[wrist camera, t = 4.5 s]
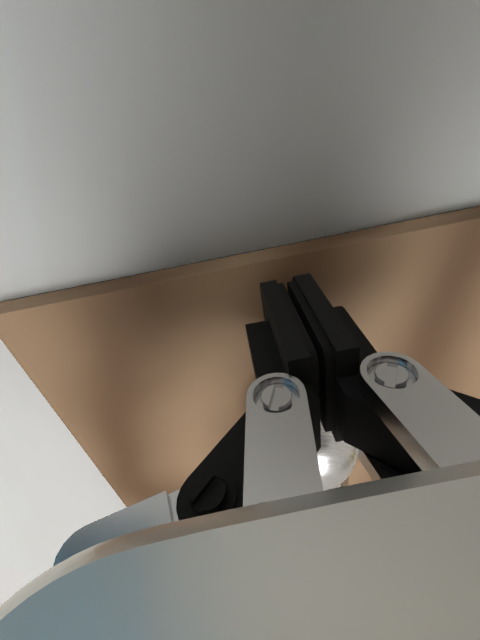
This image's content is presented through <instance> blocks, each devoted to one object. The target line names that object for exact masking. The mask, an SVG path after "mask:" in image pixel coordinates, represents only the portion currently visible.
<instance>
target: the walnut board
mask: <svg viewBox="0 0 480 640" xmlns="http://www.w3.org/2000/svg"><path fill="white" fill-rule="evenodd" d="M308 273H310V274H311V276H312V277H313V278H314V280H315V281H316V283H317V284H318V286H319V287H320V289H321V290H322V292H323V293H324V295H325V296H326V298H327V299H328V300H329V302H330V303H331V305H332V306H333V307H337V306H343V307H344V308H345V309H346V311H347V312H348V313H349V315H350V316H351V318H352V319H353V320H354V322H355V323H356V324H357V326H358V327H359V328H360V330H361V331H362V332H363V334H364V335H365V337H366V338H367V339H368V341H369V342H370V343H371V345H372V346H373V347H374V349H375V350H376V351H377V353H378V352H396V353H400V354H404V355H406V356H408V357H411V358H412V359H414V360H415V361H417V362H418V363H419V364H421V365H422V366H423V367H424V368H425V369H426V370H427V371H429V372H430V373H431V374H432V375H433V376H434V377H435V378H437V379H438V380H439V381H440V382H441V383H442V384H443V385H445V386H446V387H447V388H448V389H450V390H453V391H456V392H460V393H463V394H466V395H469V396H472V397H475V398H478V399H480V206H478V207H473V208H468V209H463V210H458V211H453V212H448V213H443V214H438V215H433V216H428V217H423V218H418V219H413V220H408V221H403V222H398V223H393V224H388V225H383V226H378V227H373V228H368V229H363V230H358V231H353V232H348V233H343V234H338V235H333V236H328V237H323V238H318V239H313V240H308V241H303V242H298V243H293V244H288V245H283V246H278V247H273V248H268V249H263V250H258V251H253V252H248V253H243V254H238V255H233V256H228V257H223V258H218V259H213V260H208V261H203V262H198V263H193V264H188V265H183V266H178V267H173V268H168V269H163V270H158V271H153V272H148V273H143V274H138V275H133V276H128V277H123V278H118V279H113V280H108V281H103V282H99V283H94V284H89V285H84V286H79V287H74V288H69V289H64V290H59V291H54V292H49V293H44V294H39V295H34V296H29V297H24V298H19V299H14V300H9V301H4V302H0V339H1V340H2V341H3V343H4V344H5V345H6V347H7V348H8V349H9V351H10V352H11V353H12V355H13V356H14V357H15V359H16V360H17V361H18V363H19V364H20V365H21V367H22V368H23V369H24V371H25V372H26V373H27V375H28V376H29V377H30V379H31V380H32V381H33V383H34V384H35V385H36V387H37V388H38V389H39V391H40V392H41V393H42V395H43V396H44V397H45V399H46V400H47V401H48V403H49V404H50V405H51V407H52V408H53V409H54V411H55V412H56V413H57V415H58V416H59V417H60V419H61V420H62V421H63V423H64V424H65V425H66V427H67V428H68V429H69V431H70V432H71V433H72V435H73V436H74V437H75V439H76V440H77V441H78V443H79V444H80V445H81V447H82V448H83V449H84V451H85V452H86V453H87V455H88V456H89V457H90V459H91V460H92V461H93V463H94V464H95V465H96V467H97V468H98V469H99V471H100V472H101V473H102V475H103V476H104V477H105V479H106V480H107V481H108V483H109V484H110V485H111V487H112V488H113V489H114V491H115V492H116V493H117V495H118V496H119V497H120V499H121V500H122V501H123V503H124V504H125V505H126V507H129V506H131V505H134V504H136V503H138V502H141V501H143V500H145V499H148V498H150V497H152V496H154V495H157V494H159V493H161V492H164V491H167V493H168V494H170V493H172V492H174V491H177V490H179V489H180V488H181V487H182V485H183V484H184V482H185V481H186V479H187V478H188V477H189V476H190V474H191V473H192V472H193V471H194V470H195V469H196V468H197V466H198V465H199V464H200V463H201V462H202V461H203V460H204V459H205V457H206V456H207V455H208V454H209V453H210V452H211V451H212V449H213V448H214V447H215V446H216V445H217V444H218V443H219V441H220V440H221V439H222V438H223V437H224V436H225V435H226V434H227V432H228V431H229V430H230V429H231V428H232V427H233V426H234V424H235V423H236V422H237V421H238V420H239V419H240V418H241V416H242V415H243V414H244V413H245V412H246V396H247V391H248V388H249V387H250V385H251V384H252V383H253V382H254V381H255V380H256V378H255V373H254V368H253V364H252V359H251V354H250V348H249V343H248V338H247V333H246V327H245V324H250V323H255V322H260V321H265V320H264V313H263V306H262V299H261V292H260V283H262V282H267V281H272V280H276V281H277V283H278V284H279V283H283V284H284V286H285V288H286V290H287V282H289V281H292V278H293V276H297V275H303V274H308ZM287 292H288V290H287ZM369 481H373V480H372V479H371V477H370V476H369V474H368V473H367V471H366V470H365V468H364V466H363V465H362V463H361V462H360V460H359V459H358V457H357V461H356V464H355V466H354V468H353V470H352V472H351V473H350V475H349V476H348V478H347V479H346V480H345V481H344V482H343V483H342V487H344V486H349V485H354V484H359V483H364V482H369Z"/></svg>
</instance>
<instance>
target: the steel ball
mask: <svg viewBox="0 0 480 640" xmlns="http://www.w3.org/2000/svg"><path fill="white" fill-rule="evenodd" d="M320 425H321V448H320V449H319V451H318V452H317V456H318V462H319V468H320V474H321V479H322V485H323V491H324V490H329V489H334V488H336V487H338V486H339V485H340V484H342V483H343V482H344V481H345V480H346V479H347V478H348V476H349V475H350V473H351V472H352V470H353V468H354V466H355V464H356V461H357V454H356V452H355V447H353V446H351V445H349V444H347V443H345V442H344V441H340V442H335V439H334V437H333V434H332V432H331V431H330V432H325V430H324V428H323V426H322V423H321V421H320Z"/></svg>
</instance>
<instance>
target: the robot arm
mask: <svg viewBox="0 0 480 640" xmlns="http://www.w3.org/2000/svg"><path fill="white" fill-rule="evenodd" d="M287 290H288V292H287ZM287 290H286V288H285V286H284V284H283V283H279V284H278V283H277V281H276V280H272V281H267V282H262V283H260V292H261V299H262V306H263V313H264V320H265V321H260V322H255V323H250V324H245V327H246V333H247V338H248V343H249V348H250V354H251V359H252V364H253V368H254V373H255V378H256V380H255V381H254V382H253V383H252V384H251V385H250V387H249V388H248V391H247V396H246V412H245V413H244V414H243V415H242V416H241V418H240V419H239V420H238V421H237V422H236V423H235V424H234V426H233V427H232V428H231V429H230V430H229V431H228V432H227V434H226V435H225V436H224V437H223V438H222V439H221V440H220V441H219V443H218V444H217V445H216V446H215V447H214V448H213V449H212V451H211V452H210V453H209V454H208V455H207V456H206V457H205V459H204V460H203V461H202V462H201V463H200V464H199V465H198V466H197V468H196V469H195V470H194V471H193V472H192V473H191V474H190V476H189V477H188V478H187V479H186V481H185V482H184V484H183V485H182V487H181V488H180V489H179V490H177V491H174V492H172V493H170V494H168V493H167V491H164V492H161V493H159V494H157V495H154V496H152V497H150V498H148V499H145V500H143V501H141V502H138V503H136V504H134V505H131V506H129V507H127V508H125V509H122V510H120V511H118V512H115V513H113V514H111V515H109V516H106V517H104V518H102V519H99V520H97V521H95V522H93V523H90V524H88V525H86V526H84V527H82V528H81V529H79V530H78V531H76V532H74V533H73V534H72V535H71V536H70V538H69V539H68V540H67V541H66V542H65V543H64V544H63V546H62V547H61V549H60V551H59V552H58V554H57V556H56V558H55V562H54V565H53V567H52V568H50V569H49V570H47V571H46V572H44V573H43V574H41V575H40V576H38V577H37V578H35V579H34V580H32V581H31V582H30V583H28V584H27V585H25V586H24V587H23V588H22V589H20V590H19V591H18V592H16V593H15V594H14V595H13V596H12V597H10V598H9V599H8V600H7V601H6V602H4V603H3V604H2V605H1V606H0V640H480V399H478V398H475V397H472V396H469V395H466V394H463V393H460V392H456V391H453V390H450V389H448V388H447V387H446V386H445V385H443V384H442V383H441V382H440V381H439V380H438V379H437V378H435V377H434V376H433V375H432V374H431V373H430V372H429V371H427V370H426V369H425V368H424V367H423V366H422V365H421V364H419V363H418V362H417V361H415V360H414V359H412V358H411V357H408V356H406V355H404V354H400V353H396V352H378V353H377V351H376V350H375V349H374V347H373V346H372V345H371V343H370V342H369V341H368V339H367V338H366V337H365V335H364V334H363V332H362V331H361V330H360V328H359V327H358V326H357V324H356V323H355V322H354V320H353V319H352V318H351V316H350V315H349V313H348V312H347V311H346V309H345V308H344V307H343V306H337V307H333V306H332V305H331V303H330V302H329V300H328V299H327V298H326V296H325V295H324V293H323V292H322V290H321V289H320V287H319V286H318V284H317V283H316V281H315V280H314V278H313V277H312V276H311V274H310V273H308V274H303V275H297V276H293V278H292V281H289V282H287ZM320 421H321V423H322V426H323V428H324V430H325V432H330V431H331V432H332V434H333V437H334V439H335V442H340V441H344V442H345V443H347V444H349V445H351V446H353V447H355V452H356V454H357V457H358V459H359V460H360V462H361V463H362V465H363V466H364V468H365V470H366V471H367V473H368V474H369V476H370V477H371V479H372V480H373V481H369V482H364V483H359V484H354V485H349V486H344V487H339V488H334V489H329V490H324V491H323V485H322V479H321V474H320V468H319V462H318V456H317V452H318V451H319V449H320V448H321V425H320Z"/></svg>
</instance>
